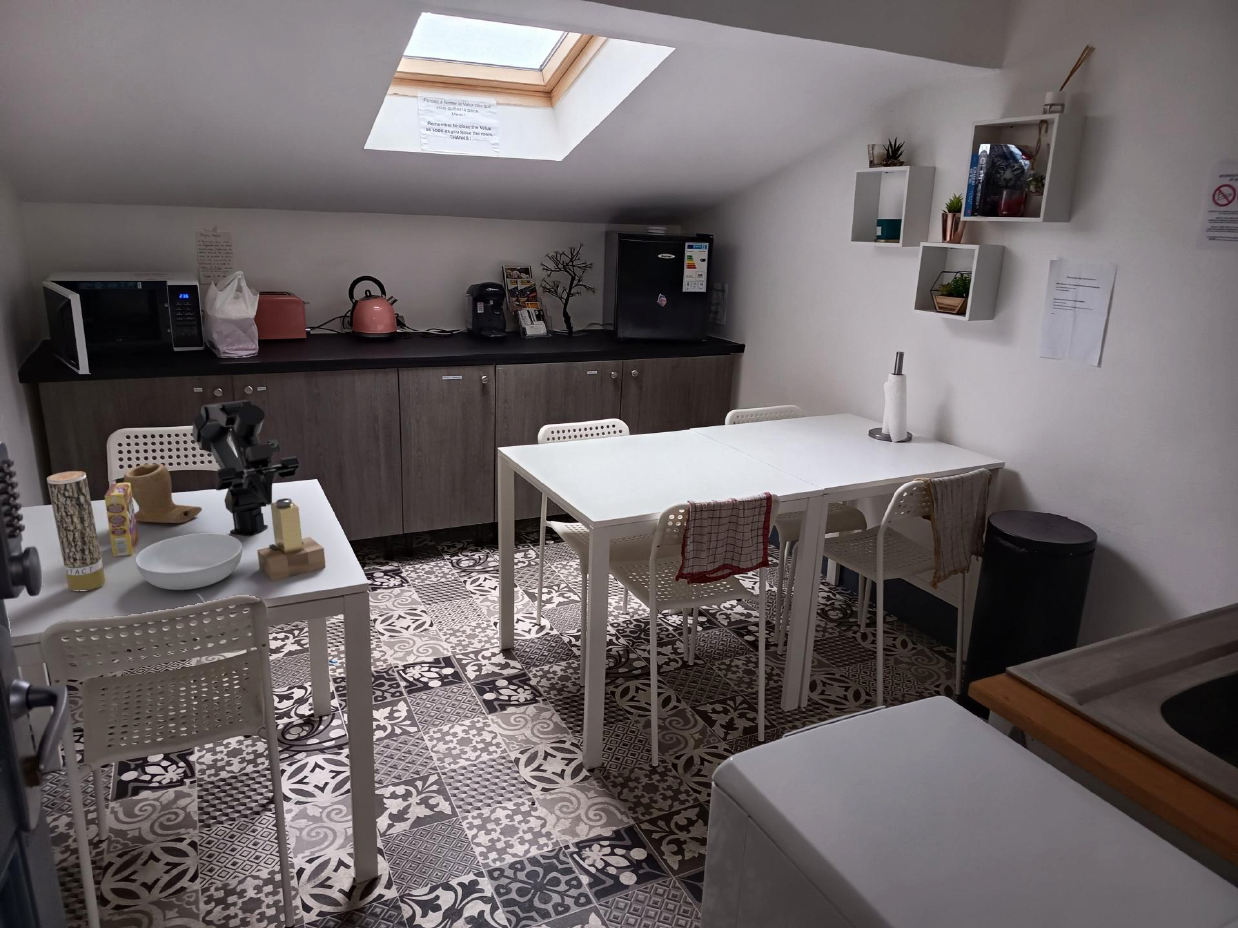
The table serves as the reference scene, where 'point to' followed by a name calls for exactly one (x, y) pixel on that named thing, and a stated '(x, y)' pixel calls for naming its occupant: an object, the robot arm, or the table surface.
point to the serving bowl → (189, 560)
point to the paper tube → (76, 530)
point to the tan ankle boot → (156, 495)
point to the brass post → (286, 526)
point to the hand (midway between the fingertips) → (269, 504)
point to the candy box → (121, 519)
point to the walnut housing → (291, 560)
